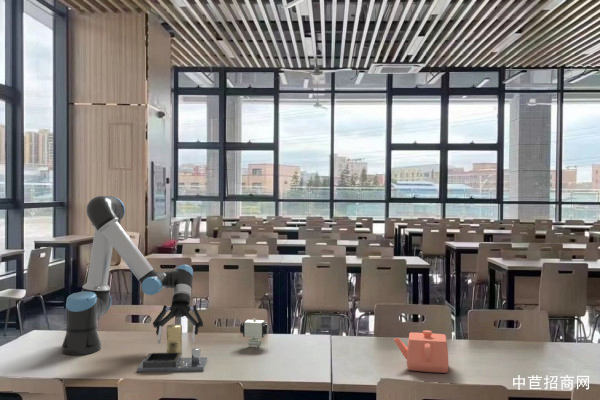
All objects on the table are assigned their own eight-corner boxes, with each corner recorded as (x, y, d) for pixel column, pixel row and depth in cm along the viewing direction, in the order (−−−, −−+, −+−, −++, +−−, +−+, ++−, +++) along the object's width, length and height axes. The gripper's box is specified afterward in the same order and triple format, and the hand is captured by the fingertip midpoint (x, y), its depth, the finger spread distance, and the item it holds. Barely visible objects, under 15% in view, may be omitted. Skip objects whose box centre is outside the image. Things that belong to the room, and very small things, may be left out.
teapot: (446, 360, 210) (447, 325, 210) (449, 379, 188) (449, 339, 188) (395, 357, 214) (395, 322, 214) (392, 374, 193) (392, 336, 193)
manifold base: (136, 372, 195) (137, 354, 195) (144, 362, 207) (144, 345, 207) (203, 371, 197) (203, 353, 197) (207, 361, 209) (207, 344, 209)
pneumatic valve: (266, 348, 226) (266, 320, 226) (239, 347, 228) (239, 319, 228) (269, 345, 231) (269, 317, 231) (243, 344, 233) (243, 316, 233)
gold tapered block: (165, 358, 213) (165, 327, 213) (168, 353, 219) (168, 324, 219) (180, 357, 213) (180, 327, 213) (183, 353, 219) (183, 324, 219)
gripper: (211, 301, 234) (208, 345, 219) (153, 302, 232) (145, 346, 217) (210, 291, 228) (206, 335, 213) (150, 292, 227) (142, 337, 212)
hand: (176, 341), depth 215 cm, fingers open, 13 cm apart
